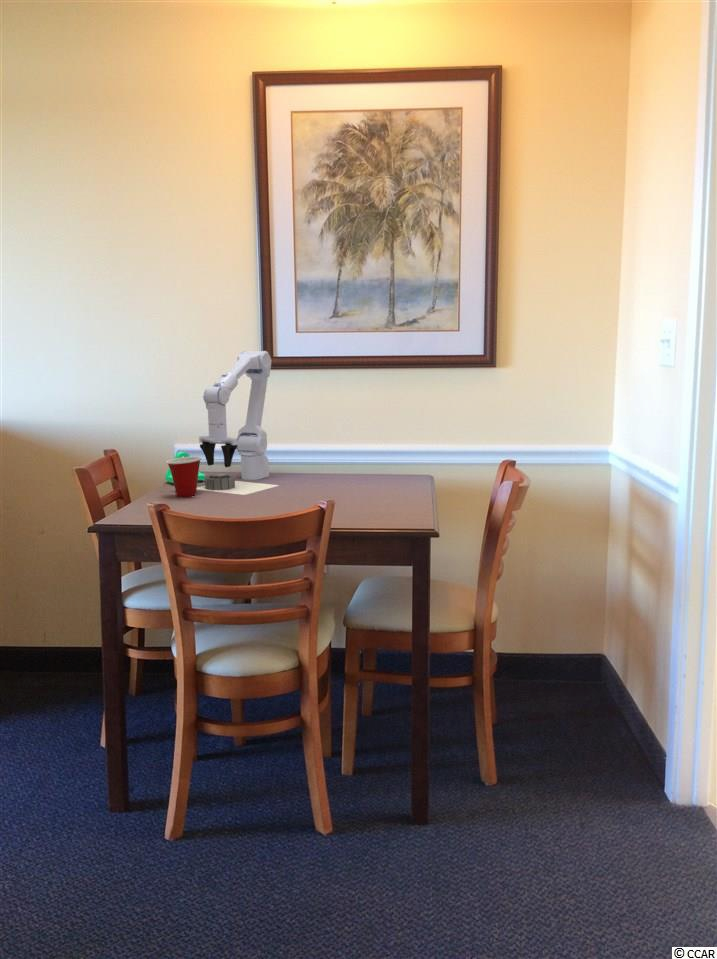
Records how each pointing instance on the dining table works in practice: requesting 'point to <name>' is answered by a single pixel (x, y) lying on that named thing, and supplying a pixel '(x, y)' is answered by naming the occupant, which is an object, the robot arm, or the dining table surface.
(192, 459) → the plastic cup
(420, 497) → the dining table surface
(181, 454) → the camera mount
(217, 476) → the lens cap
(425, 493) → the dining table surface
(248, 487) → the board
